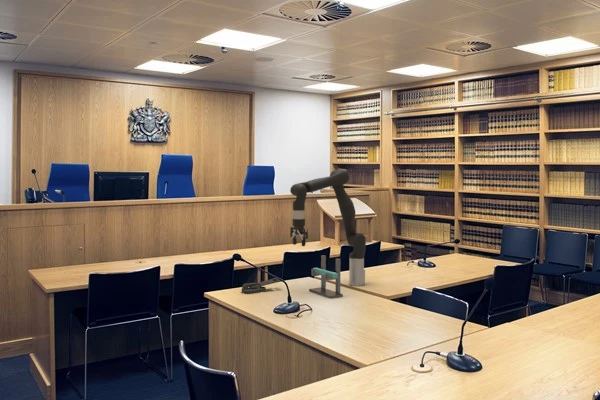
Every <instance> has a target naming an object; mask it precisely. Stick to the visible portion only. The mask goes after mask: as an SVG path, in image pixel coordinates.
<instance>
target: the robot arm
mask: <svg viewBox="0 0 600 400" xmlns="http://www.w3.org/2000/svg"><path fill="white" fill-rule="evenodd" d="M329 174H330V175H329V176H325V177H318V178H314V179H310V180H308V181H307V180H306V181H304V182H297V183H295V184H293V185H291V187H290V190H289V191H290V194H291V195H292V196H295V197H296V198H295V200H294V201H292V218H291V219H292V226H291V227H290V233H289V234H290V235H289V237H290V238H291V239H292V245H297V239H298V238H297V237H298V236H299V237H300V239H301V247H305V246H306V240H307V239H309V232H308V231H309V230H308V228H305V227H306V211H305V209H306V208H305V207H306V205H305V203H306V198H307V194H308V193H314V192H318V191H320V190H323V189H326V188H329V187H332V189H333V191H334V194H335V197H336V202H337V203H338V207H339V213H340V215H341V219H342V223H343V226H344V231H345V236H346V237H345V238H346V242H347V244H348V246H350V247H353V251H352V252H350V253H349V257H348V258H349V259H348V260H349V268H348V269H349V274H348V275H349V277H348V279H349V280H348V283H349V286H353V287H360V286H361V287H362V286H365V285H366V270H365V255H366V247H367V246H366V245H367V244H366V243H367V241H366V236H365V235H364V234H363V233H360V232H357V230H356V226H355V219H356V209H355V206H354V202H353V200H352V198H351V197H350V196H349V195H348V193H347V192H346V190H345V186H344V185H347V183H349V181H350V174H349V173H348V172H347V170H343V169H337V170H332V171H331V172H330V173H329Z"/></svg>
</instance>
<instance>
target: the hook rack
mask: <svg viewBox="0 0 600 400" xmlns="http://www.w3.org/2000/svg"><path fill="white" fill-rule="evenodd" d="M320 258H321V259H320V260H321V261H320V269H323V270H327V268H326V267H327V264H326V261H327V256H326V255H324V254H323V255H320ZM335 273H338V278H332V277H329V273H326V276H325V275H322V274H318V273H315V269H313V268H311V277H318V276H320V286H319V287H313V288H308V291H309V292H310V293H312V294H313V293H314V294H316V295H319V296H321V297H324V298H327V299H329V300H330V299H331V300H332V299H338V298H342V297H344V294H343V293H341V258H335ZM333 280H334V281H335V290H332V289H328V288H327V287H326V286H327V285H326V283H327V282H326V281H333Z"/></svg>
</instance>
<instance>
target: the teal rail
mask: <svg viewBox="0 0 600 400" xmlns="http://www.w3.org/2000/svg"><path fill="white" fill-rule="evenodd" d="M312 269H315V273H318V274H322V275H325V276H326V273H329V277H332V278H338V273H336V272H334V271H331V270H330V271H329V270H327V269H326V270H323V269H321V268H319V267H313V268H312Z"/></svg>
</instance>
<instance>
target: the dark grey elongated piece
mask: <svg viewBox="0 0 600 400" xmlns="http://www.w3.org/2000/svg"><path fill="white" fill-rule="evenodd" d="M277 278H278V277H273V278H270V279H268V280H264V281H260V282H257V283H256V282H250V283H249V282H248V283H243V284H242V287H241V294H243V293H244V294H243V295H253V294H254V293H255V294H259V293H261V292H262V293H266V291H267V288H266V286H268V285H269V286H270V285H272V284H277V283H280V282H282V281H280V280H279V279H277Z"/></svg>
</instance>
